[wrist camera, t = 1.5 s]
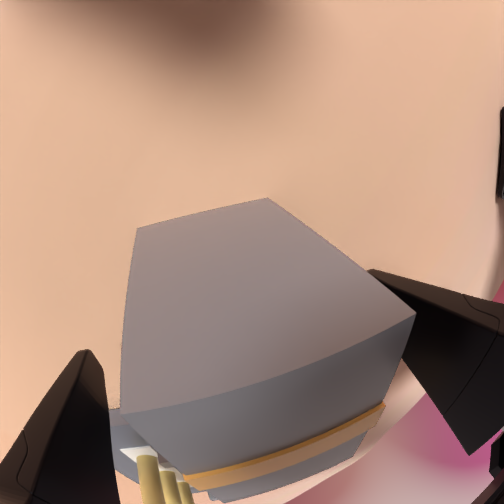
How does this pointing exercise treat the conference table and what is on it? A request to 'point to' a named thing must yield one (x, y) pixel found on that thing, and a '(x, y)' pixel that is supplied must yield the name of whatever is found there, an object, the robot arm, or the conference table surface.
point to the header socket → (147, 466)
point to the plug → (254, 348)
